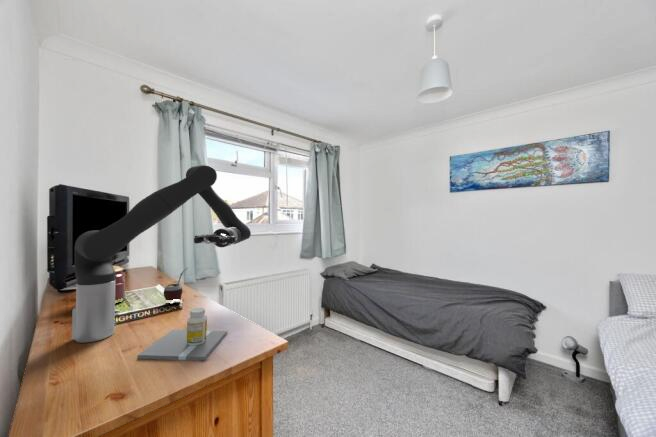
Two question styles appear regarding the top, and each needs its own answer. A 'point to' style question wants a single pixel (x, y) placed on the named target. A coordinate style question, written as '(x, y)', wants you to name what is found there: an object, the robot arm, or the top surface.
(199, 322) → the supplement bottle
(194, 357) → the floor panel
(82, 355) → the top surface
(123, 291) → the canister
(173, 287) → the mate gourd
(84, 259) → the robot arm
